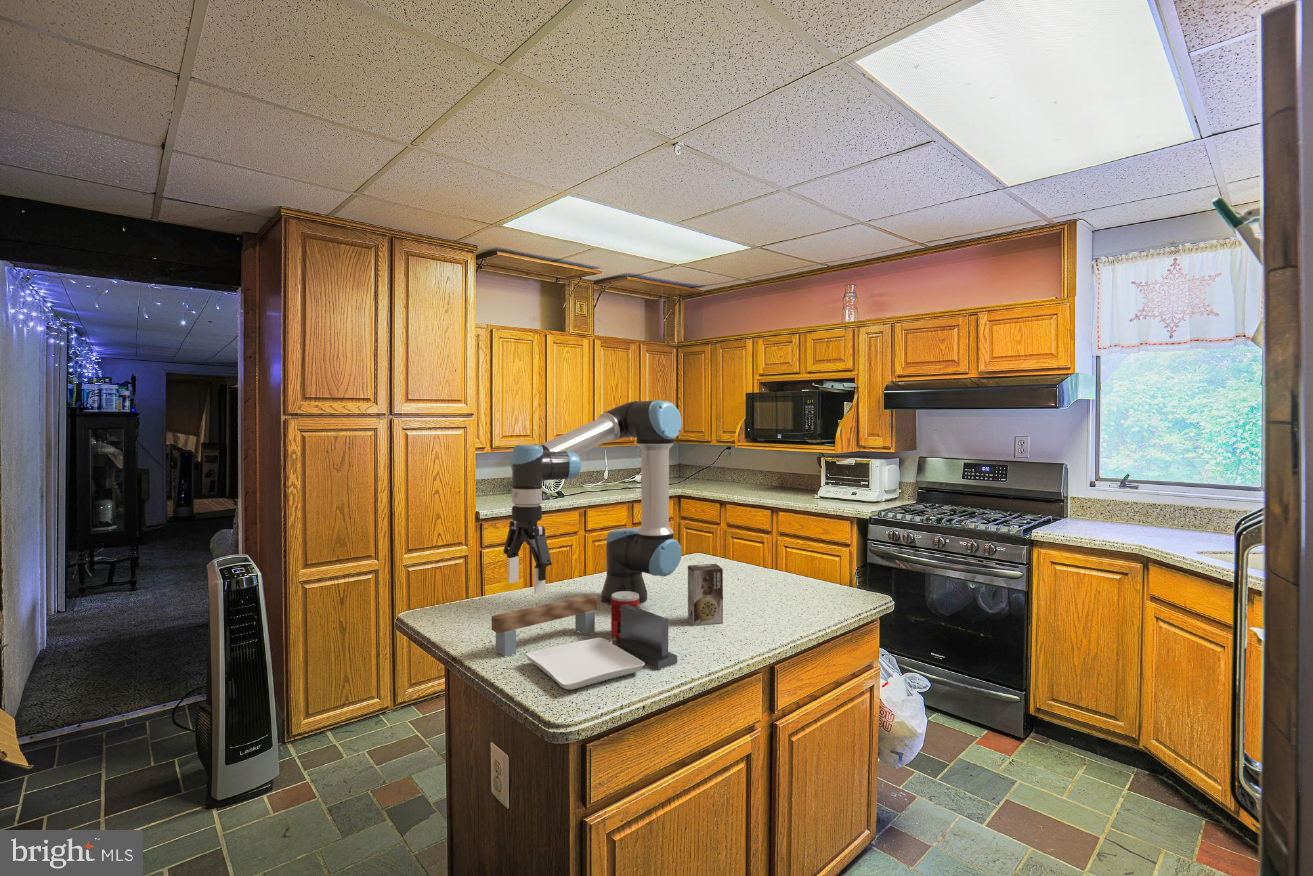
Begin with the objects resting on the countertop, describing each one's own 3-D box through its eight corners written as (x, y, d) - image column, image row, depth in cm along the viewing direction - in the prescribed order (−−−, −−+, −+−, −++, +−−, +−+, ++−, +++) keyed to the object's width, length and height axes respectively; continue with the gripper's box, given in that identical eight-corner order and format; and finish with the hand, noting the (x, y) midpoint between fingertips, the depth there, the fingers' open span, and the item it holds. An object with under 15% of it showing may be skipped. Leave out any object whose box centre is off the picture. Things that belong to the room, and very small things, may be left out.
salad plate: (647, 676, 143) (647, 661, 143) (564, 700, 130) (564, 683, 130) (600, 648, 160) (600, 635, 160) (523, 667, 148) (523, 652, 148)
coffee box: (716, 616, 186) (716, 563, 185) (723, 623, 179) (723, 568, 179) (686, 619, 183) (687, 564, 183) (693, 626, 177) (693, 569, 177)
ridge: (630, 643, 163) (630, 601, 163) (677, 663, 149) (677, 618, 149) (612, 648, 159) (612, 606, 159) (658, 670, 145) (658, 623, 145)
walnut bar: (590, 606, 175) (590, 594, 175) (597, 609, 172) (597, 597, 172) (491, 629, 155) (491, 616, 155) (498, 633, 152) (498, 619, 152)
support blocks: (584, 628, 174) (584, 607, 174) (594, 633, 171) (594, 611, 171) (495, 651, 157) (495, 627, 157) (505, 657, 153) (505, 633, 153)
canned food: (618, 641, 164) (618, 600, 164) (606, 632, 171) (606, 593, 171) (644, 637, 168) (644, 596, 167) (631, 628, 175) (631, 589, 174)
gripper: (491, 501, 166) (490, 580, 166) (539, 511, 147) (538, 600, 147) (516, 499, 171) (515, 576, 171) (566, 509, 152) (565, 595, 152)
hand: (526, 587), depth 159 cm, fingers open, 13 cm apart
